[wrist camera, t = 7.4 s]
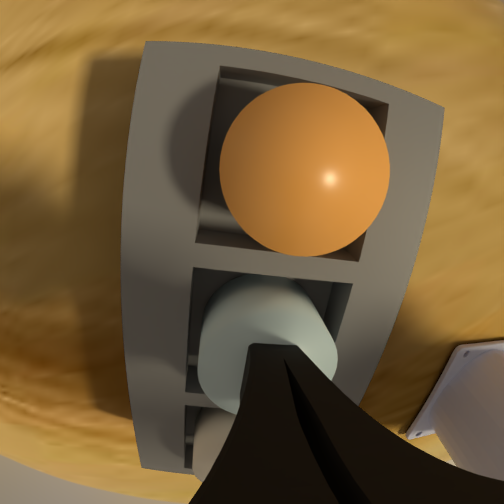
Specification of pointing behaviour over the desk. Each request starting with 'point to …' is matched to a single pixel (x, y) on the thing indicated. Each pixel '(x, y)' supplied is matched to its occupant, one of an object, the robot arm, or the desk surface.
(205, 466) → the button ivory
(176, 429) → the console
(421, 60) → the desk surface
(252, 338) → the grey rounded dome
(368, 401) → the desk surface
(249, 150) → the button orange
